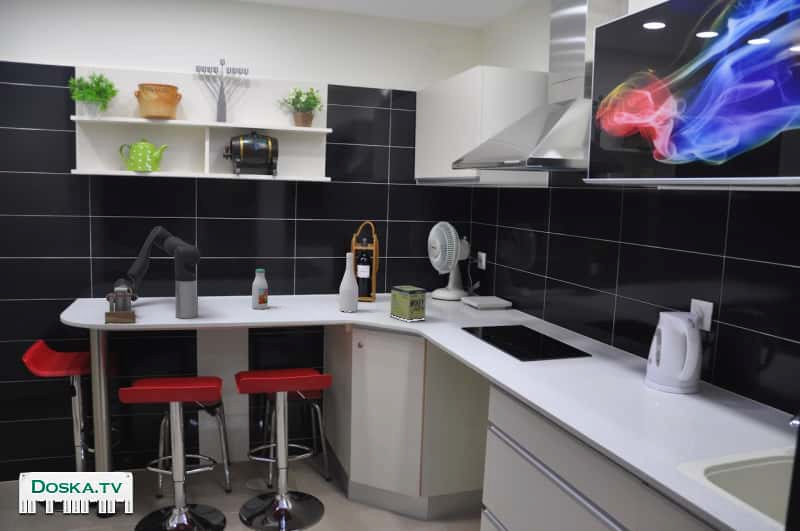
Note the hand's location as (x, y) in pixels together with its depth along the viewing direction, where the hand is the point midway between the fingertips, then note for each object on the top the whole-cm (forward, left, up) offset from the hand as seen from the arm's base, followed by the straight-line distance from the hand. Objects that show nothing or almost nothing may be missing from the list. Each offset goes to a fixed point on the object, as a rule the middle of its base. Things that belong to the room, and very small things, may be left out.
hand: (120, 300), depth 293 cm
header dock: (-1, -2, -9) cm, 9 cm away
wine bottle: (-100, +39, -9) cm, 108 cm away
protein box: (-112, +70, -9) cm, 132 cm away
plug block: (-1, -2, -7) cm, 7 cm away
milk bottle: (-67, +8, -9) cm, 68 cm away
